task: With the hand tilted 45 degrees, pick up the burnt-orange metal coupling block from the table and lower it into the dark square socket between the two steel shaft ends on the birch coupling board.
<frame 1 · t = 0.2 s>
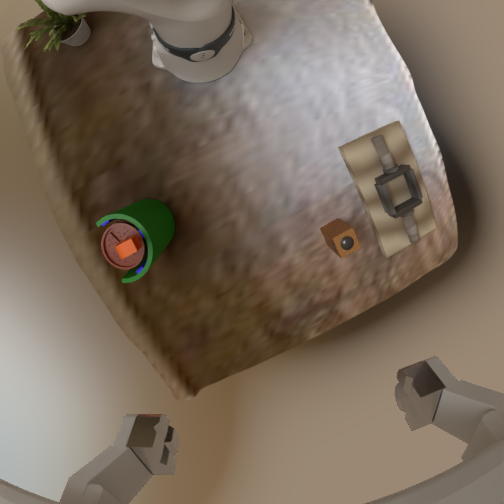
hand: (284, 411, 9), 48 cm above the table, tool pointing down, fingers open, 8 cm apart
house plant: (76, 35, 41), on the table
motor: (151, 223, 55), on the table
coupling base: (390, 188, 55), on the table
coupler: (332, 232, 57), on the table
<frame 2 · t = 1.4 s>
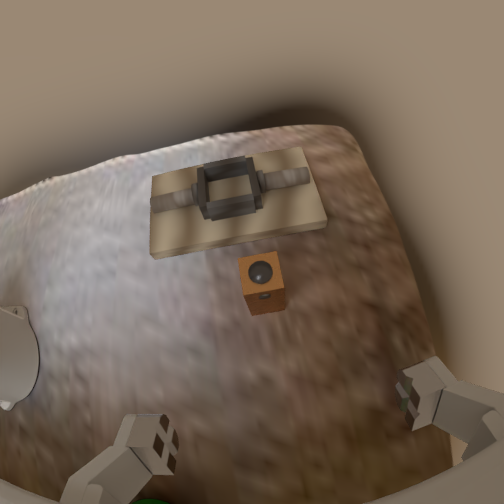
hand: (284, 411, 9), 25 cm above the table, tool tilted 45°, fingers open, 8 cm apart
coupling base: (232, 202, 44), on the table
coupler: (265, 297, 37), on the table
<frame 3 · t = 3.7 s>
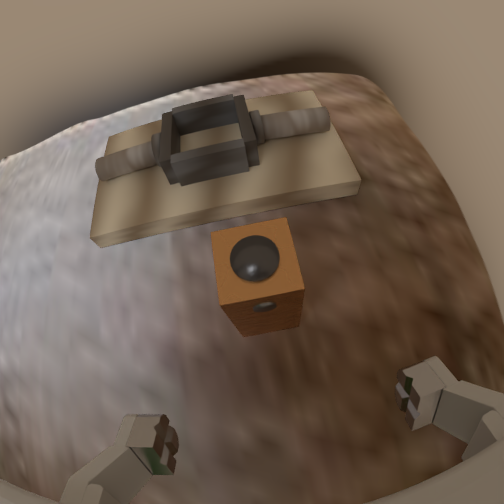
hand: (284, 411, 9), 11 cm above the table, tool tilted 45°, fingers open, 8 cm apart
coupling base: (215, 162, 29), on the table
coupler: (266, 305, 22), on the table
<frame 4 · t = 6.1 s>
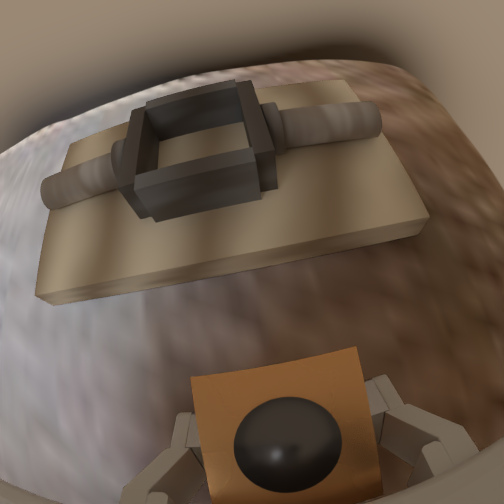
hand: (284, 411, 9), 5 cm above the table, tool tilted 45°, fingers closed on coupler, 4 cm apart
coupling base: (209, 180, 20), on the table
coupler: (288, 417, 13), on the table, touching gripper
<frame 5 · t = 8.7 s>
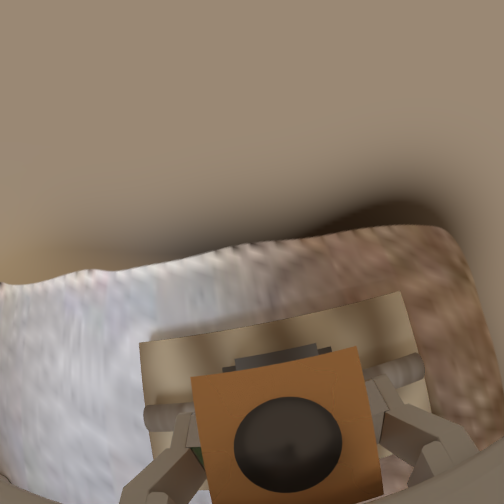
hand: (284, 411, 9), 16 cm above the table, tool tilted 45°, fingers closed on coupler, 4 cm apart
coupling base: (285, 402, 23), on the table
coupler: (288, 417, 13), point 12 cm above the table, touching gripper
when the fingers open (8 cm above the table, at t = 11.2 s): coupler stays where it is, resting on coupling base.
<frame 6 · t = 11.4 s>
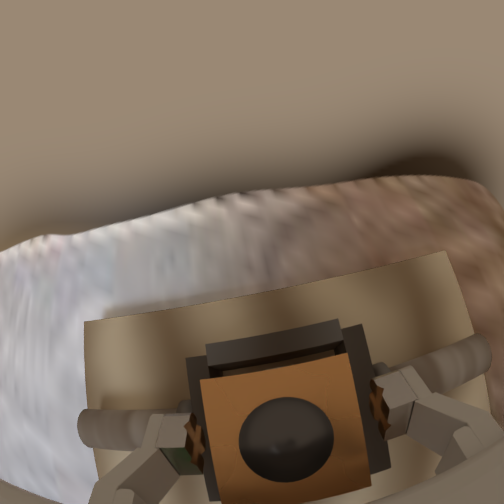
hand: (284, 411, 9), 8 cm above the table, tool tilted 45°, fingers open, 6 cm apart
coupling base: (288, 413, 15), on the table
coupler: (287, 416, 14), point 2 cm above the table, touching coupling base
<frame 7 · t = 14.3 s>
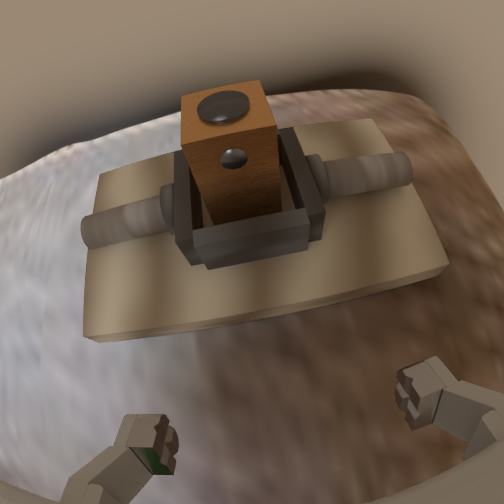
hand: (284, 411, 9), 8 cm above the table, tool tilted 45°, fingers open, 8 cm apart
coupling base: (250, 222, 21), on the table
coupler: (246, 206, 20), point 2 cm above the table, touching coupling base
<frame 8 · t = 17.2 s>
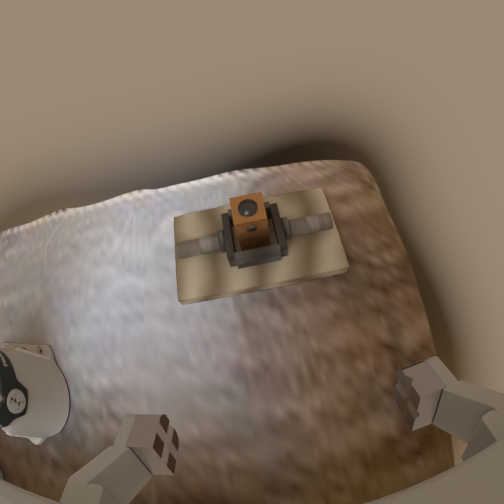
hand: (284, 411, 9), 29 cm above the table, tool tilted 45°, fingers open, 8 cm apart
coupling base: (256, 246, 45), on the table
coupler: (254, 239, 43), point 2 cm above the table, touching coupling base
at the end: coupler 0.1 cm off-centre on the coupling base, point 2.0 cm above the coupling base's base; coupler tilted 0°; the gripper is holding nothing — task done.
